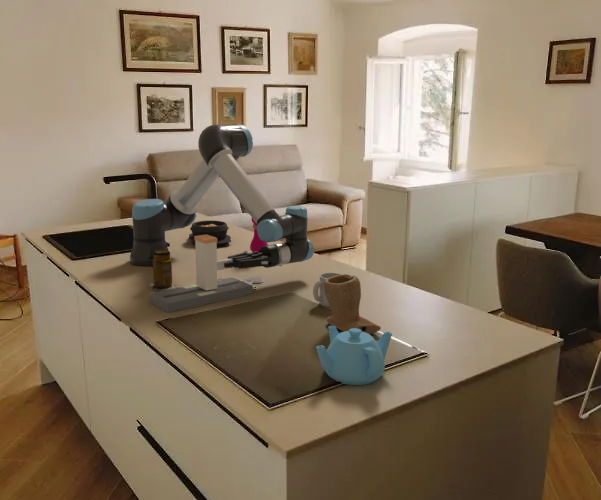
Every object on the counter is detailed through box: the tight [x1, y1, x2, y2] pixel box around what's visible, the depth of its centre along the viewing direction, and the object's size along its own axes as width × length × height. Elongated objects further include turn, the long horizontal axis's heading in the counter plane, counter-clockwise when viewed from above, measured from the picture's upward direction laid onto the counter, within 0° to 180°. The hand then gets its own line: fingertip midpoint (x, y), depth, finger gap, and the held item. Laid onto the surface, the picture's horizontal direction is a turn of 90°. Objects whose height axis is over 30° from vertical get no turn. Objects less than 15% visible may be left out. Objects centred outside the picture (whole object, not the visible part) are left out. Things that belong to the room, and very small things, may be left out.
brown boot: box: [324, 273, 382, 335], centre depth 161 cm, size 15×12×15 cm
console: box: [149, 276, 254, 313], centre depth 187 cm, size 30×12×3 cm, turn 129°
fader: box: [194, 234, 218, 291], centre depth 186 cm, size 4×6×16 cm
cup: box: [312, 272, 343, 308], centre depth 182 cm, size 7×10×9 cm
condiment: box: [150, 249, 176, 292], centre depth 197 cm, size 7×8×12 cm
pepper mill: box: [249, 217, 269, 253], centre depth 235 cm, size 7×7×20 cm
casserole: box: [187, 220, 232, 245], centre depth 263 cm, size 25×19×8 cm
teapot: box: [315, 325, 393, 386], centre depth 135 cm, size 15×15×11 cm
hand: (213, 266), depth 187 cm, fingers closed
